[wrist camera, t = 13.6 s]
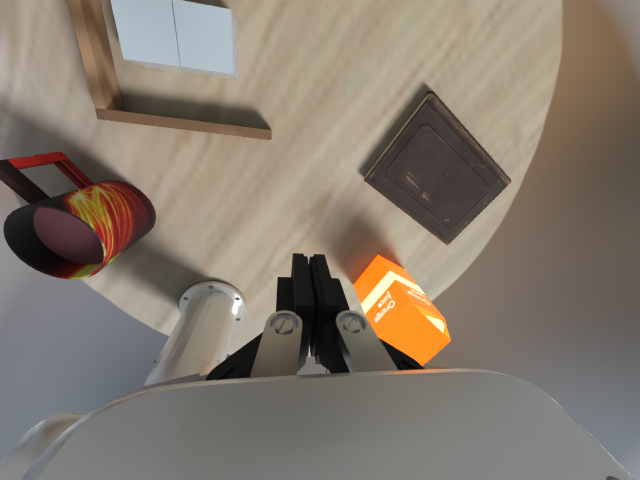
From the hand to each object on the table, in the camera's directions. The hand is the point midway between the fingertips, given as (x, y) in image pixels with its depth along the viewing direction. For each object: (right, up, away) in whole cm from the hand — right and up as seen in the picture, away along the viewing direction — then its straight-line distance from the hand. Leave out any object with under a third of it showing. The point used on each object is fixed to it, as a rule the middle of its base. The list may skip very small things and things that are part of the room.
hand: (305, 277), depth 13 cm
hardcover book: (+22, +14, +30) cm, 40 cm away
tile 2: (-19, +27, +17) cm, 37 cm away
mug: (-33, +8, +24) cm, 42 cm away
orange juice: (+13, -6, +38) cm, 41 cm away
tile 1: (-13, +27, +18) cm, 35 cm away
